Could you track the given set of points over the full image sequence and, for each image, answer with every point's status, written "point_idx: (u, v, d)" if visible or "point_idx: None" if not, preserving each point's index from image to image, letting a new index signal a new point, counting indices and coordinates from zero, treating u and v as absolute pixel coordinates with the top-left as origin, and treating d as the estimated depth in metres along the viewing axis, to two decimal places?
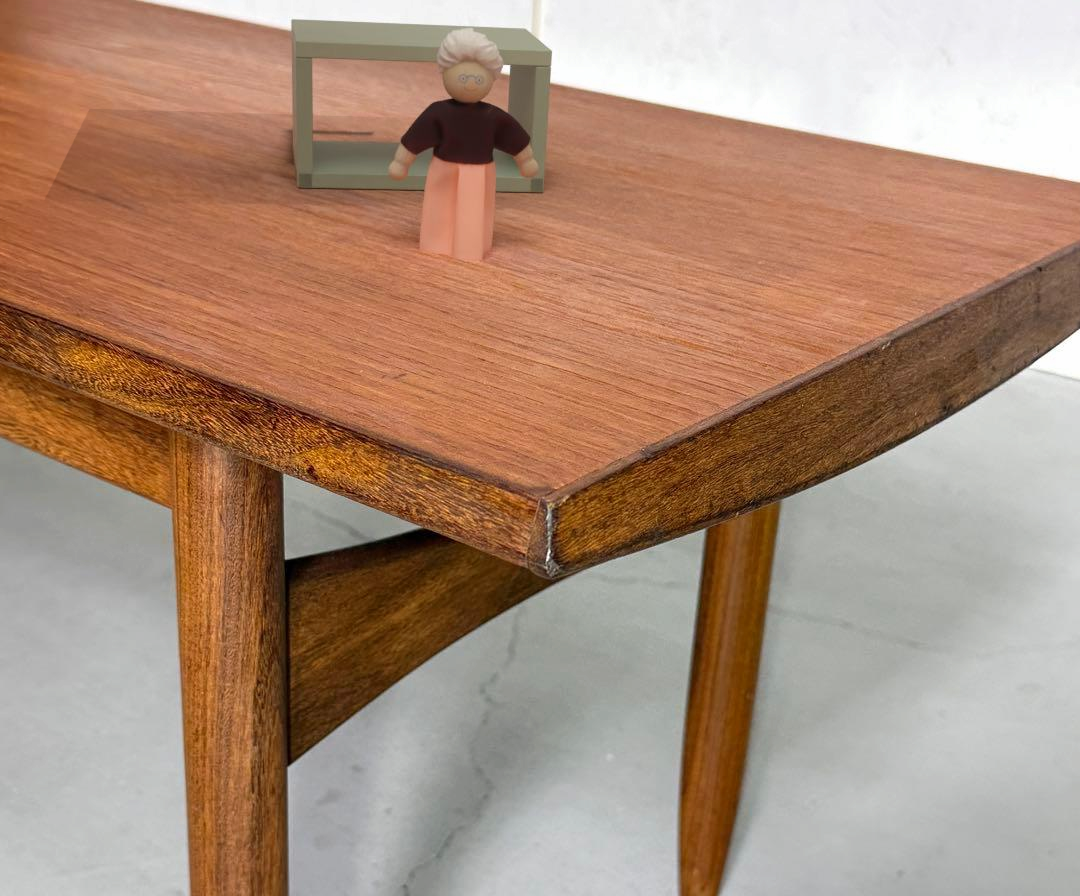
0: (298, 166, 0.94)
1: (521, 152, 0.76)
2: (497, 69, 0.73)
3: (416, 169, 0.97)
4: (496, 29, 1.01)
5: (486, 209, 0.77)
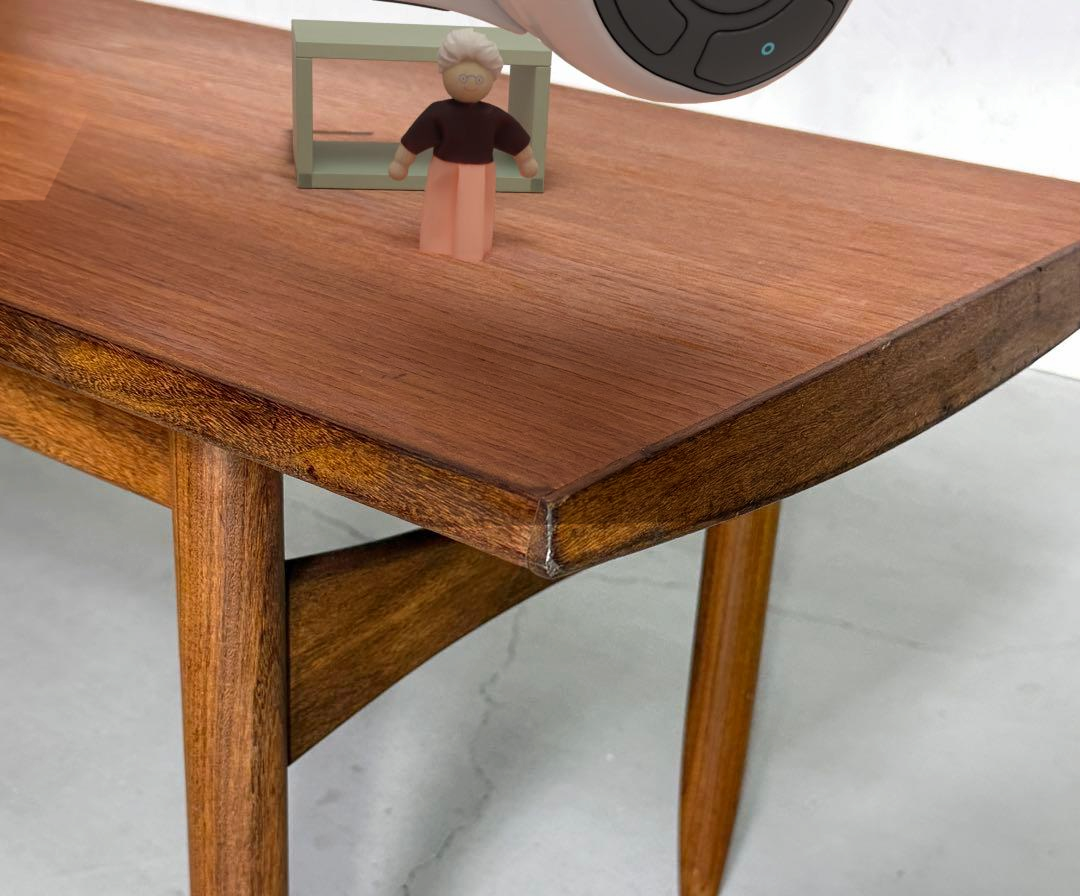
0: (298, 166, 0.94)
1: (521, 152, 0.76)
2: (497, 69, 0.73)
3: (416, 169, 0.97)
4: (496, 29, 1.01)
5: (486, 209, 0.77)
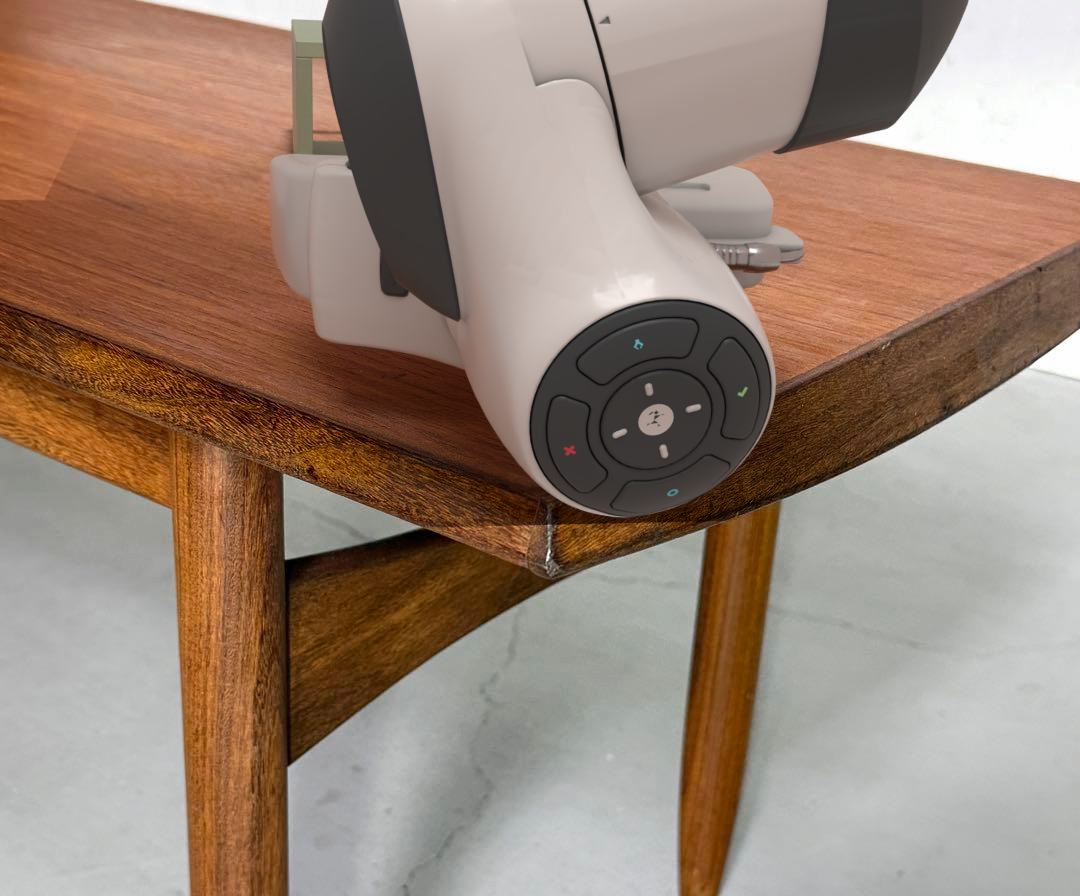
0: None
1: None
2: None
3: None
4: None
5: None
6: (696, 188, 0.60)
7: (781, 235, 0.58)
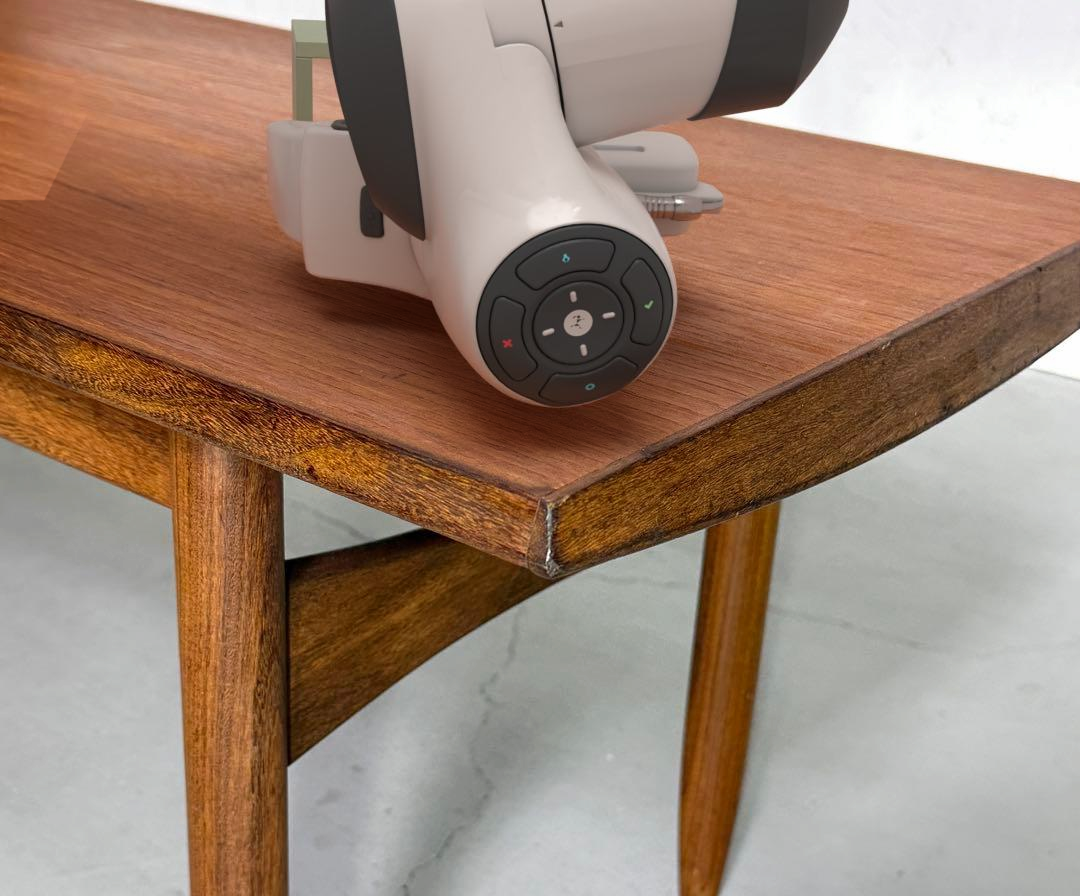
0: None
1: None
2: None
3: None
4: None
5: None
6: (633, 150, 0.69)
7: (705, 190, 0.68)
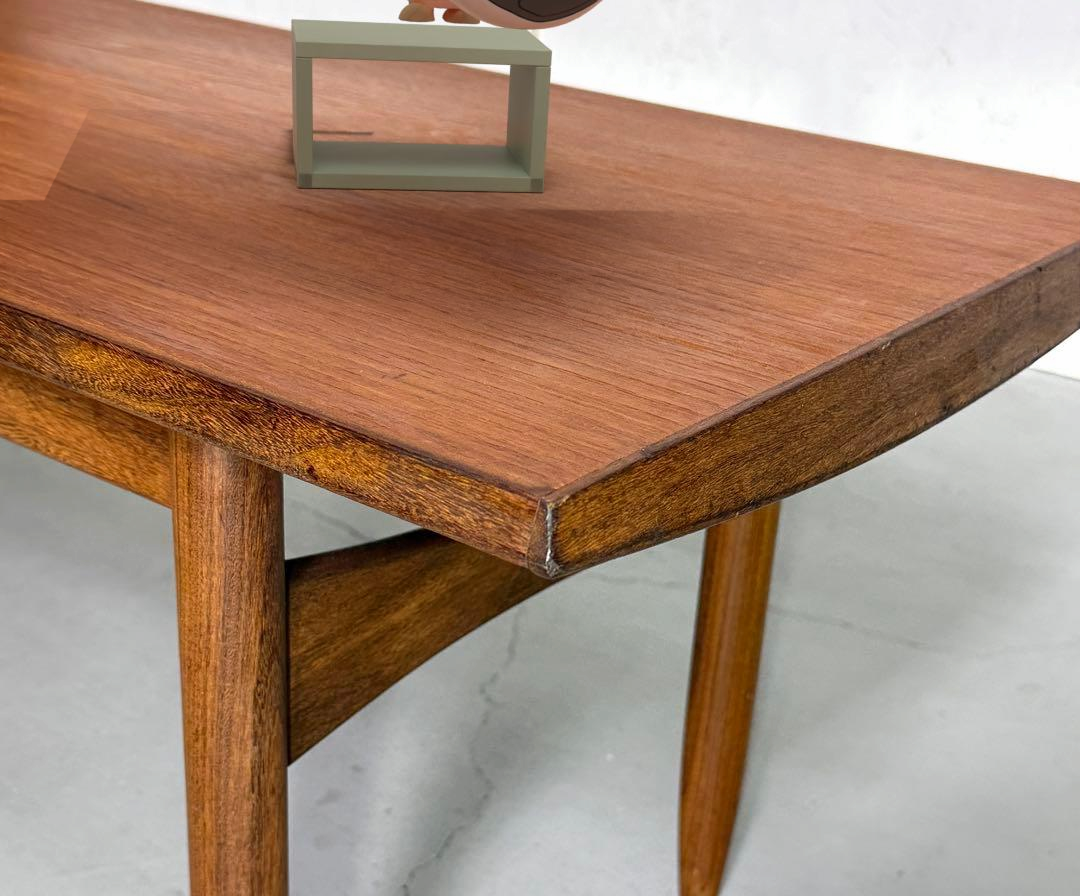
0: (298, 166, 0.94)
1: None
2: None
3: (416, 169, 0.97)
4: (496, 29, 1.01)
5: None
6: None
7: None
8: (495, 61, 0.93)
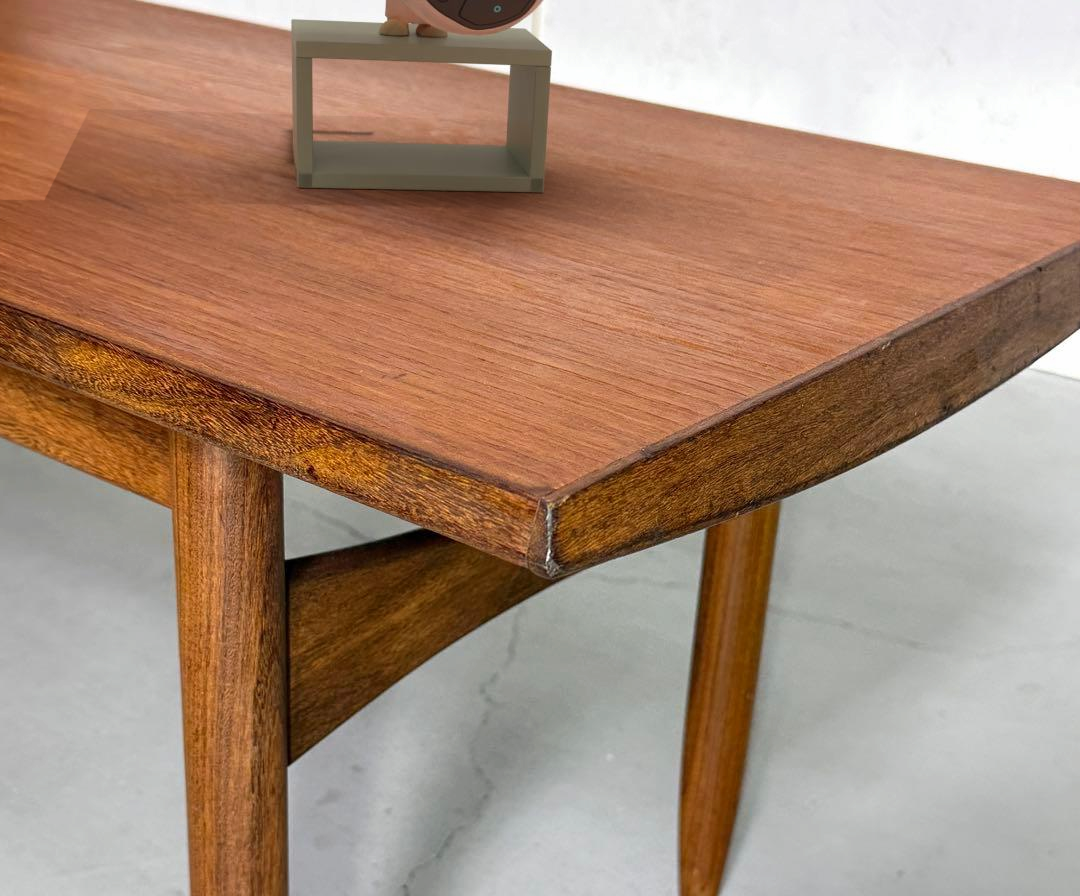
0: (298, 166, 0.94)
1: None
2: None
3: (416, 169, 0.97)
4: None
5: None
6: None
7: None
8: (495, 61, 0.93)
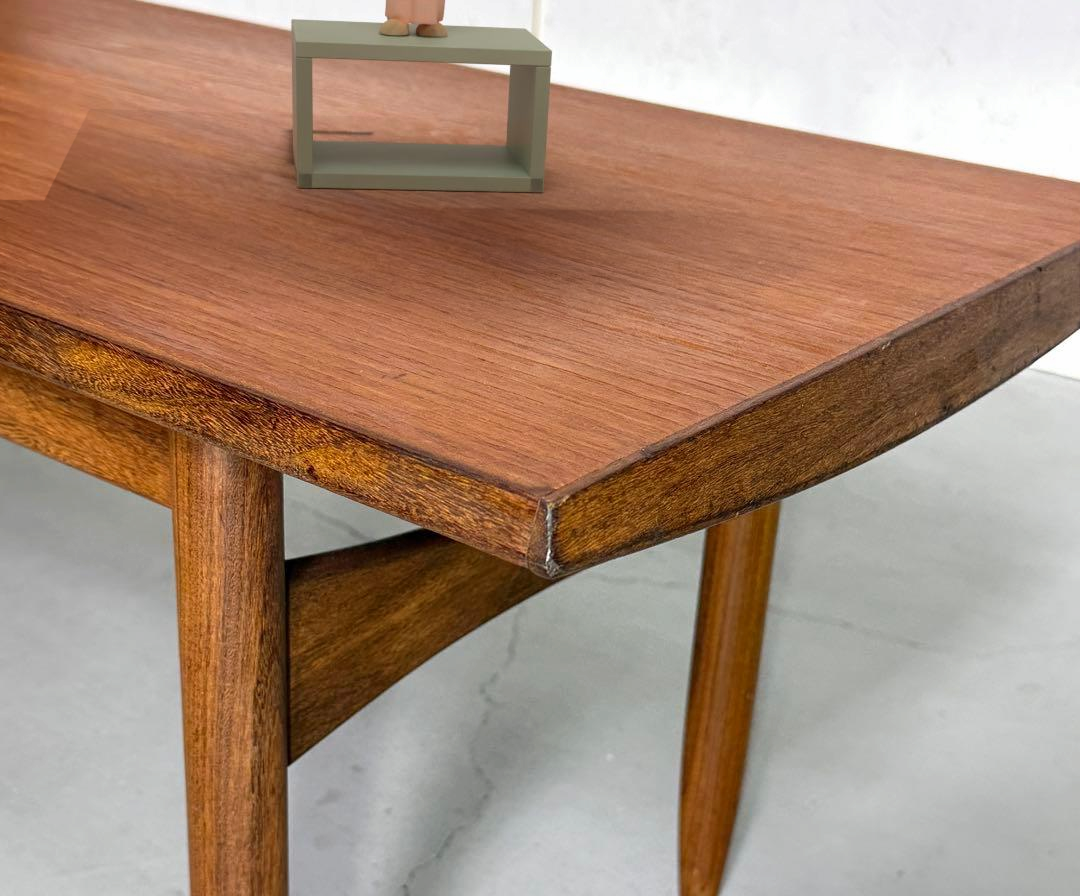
0: (298, 166, 0.94)
1: None
2: None
3: (416, 169, 0.97)
4: (496, 29, 1.01)
5: None
6: None
7: None
8: (495, 61, 0.93)
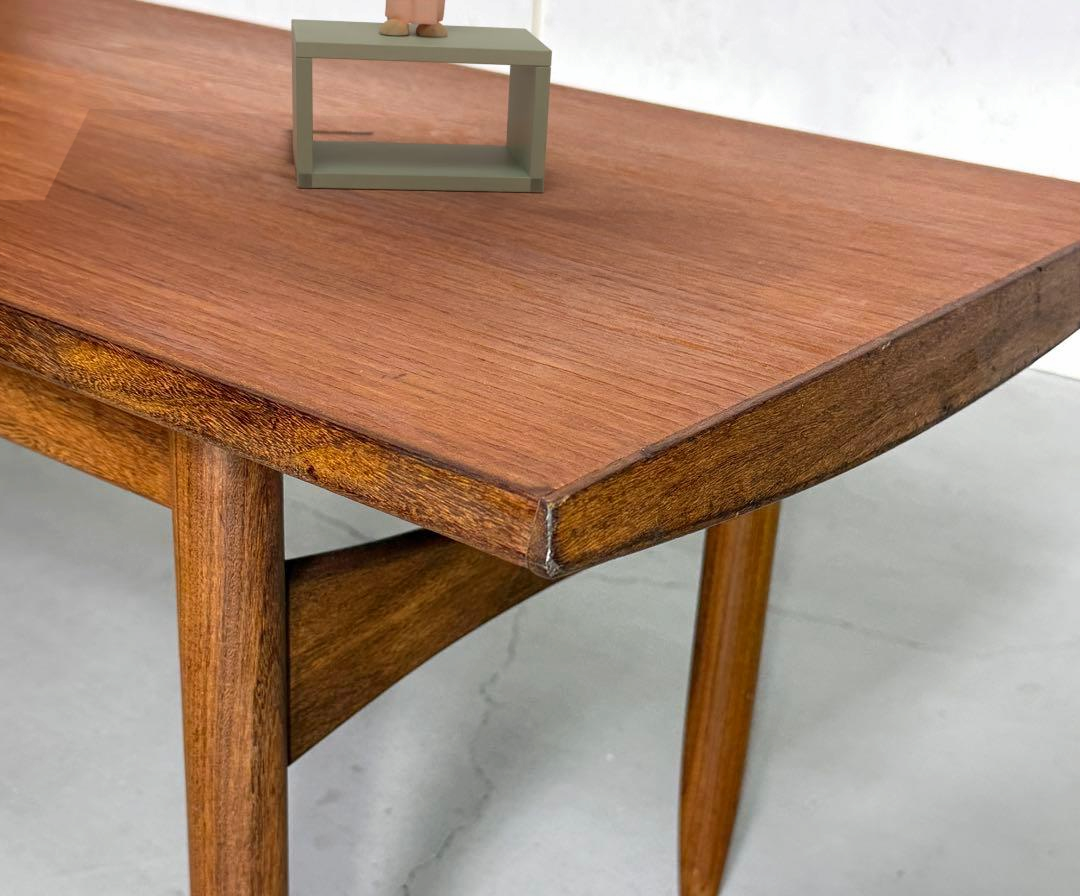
0: (298, 166, 0.94)
1: None
2: None
3: (416, 169, 0.97)
4: (496, 29, 1.01)
5: None
6: None
7: None
8: (495, 61, 0.93)
